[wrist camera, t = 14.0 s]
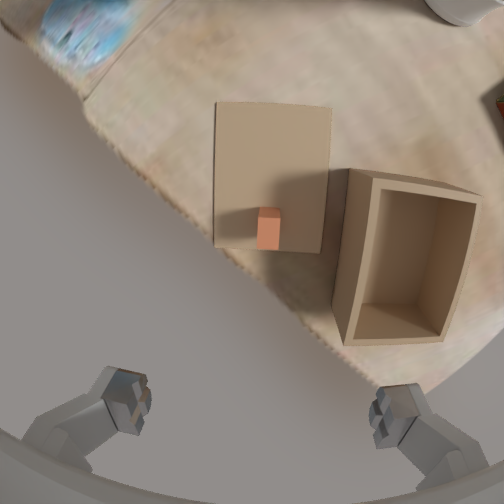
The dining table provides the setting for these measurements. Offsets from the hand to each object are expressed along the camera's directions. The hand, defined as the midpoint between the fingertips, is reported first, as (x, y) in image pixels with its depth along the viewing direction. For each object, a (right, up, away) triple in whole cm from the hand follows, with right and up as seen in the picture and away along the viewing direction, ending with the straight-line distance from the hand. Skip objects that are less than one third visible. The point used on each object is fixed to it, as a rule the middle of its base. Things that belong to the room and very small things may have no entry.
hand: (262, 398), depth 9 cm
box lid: (+2, +13, +22) cm, 25 cm away
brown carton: (+15, +6, +23) cm, 28 cm away
